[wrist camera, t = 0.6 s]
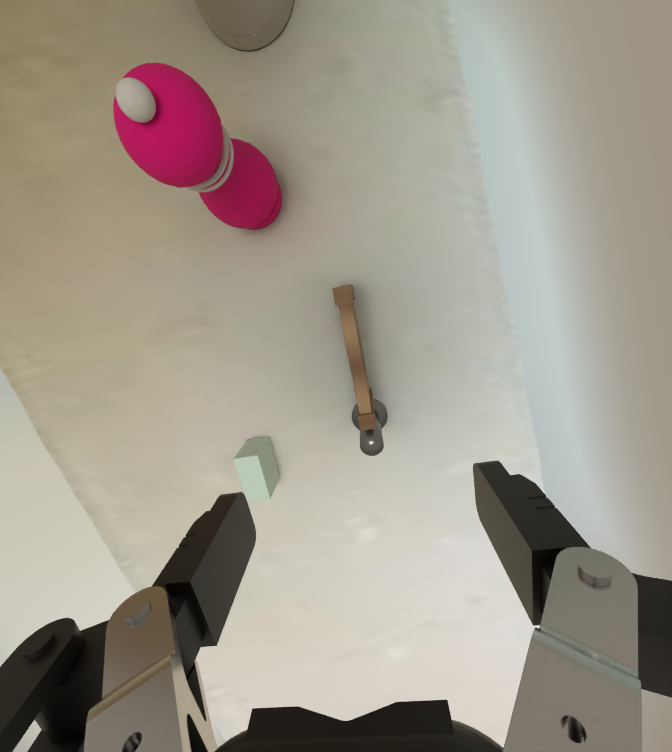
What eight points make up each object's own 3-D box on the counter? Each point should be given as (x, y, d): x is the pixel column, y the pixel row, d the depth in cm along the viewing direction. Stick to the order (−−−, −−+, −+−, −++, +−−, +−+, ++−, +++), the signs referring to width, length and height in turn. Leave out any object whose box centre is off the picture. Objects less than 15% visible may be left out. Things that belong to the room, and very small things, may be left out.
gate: (338, 287, 36) (332, 288, 29) (352, 284, 36) (350, 284, 28) (360, 402, 40) (360, 430, 32) (373, 400, 40) (376, 428, 32)
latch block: (247, 439, 43) (233, 459, 38) (269, 436, 42) (257, 455, 38) (259, 478, 44) (247, 502, 40) (280, 475, 44) (270, 499, 39)
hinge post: (349, 401, 40) (346, 429, 33) (384, 396, 40) (389, 422, 32) (355, 433, 42) (354, 467, 34) (389, 428, 41) (396, 461, 33)
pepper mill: (296, 178, 34) (215, 38, 15) (272, 245, 36) (173, 198, 17) (233, 148, 34) (66, -35, 15) (212, 217, 36) (41, 137, 17)
